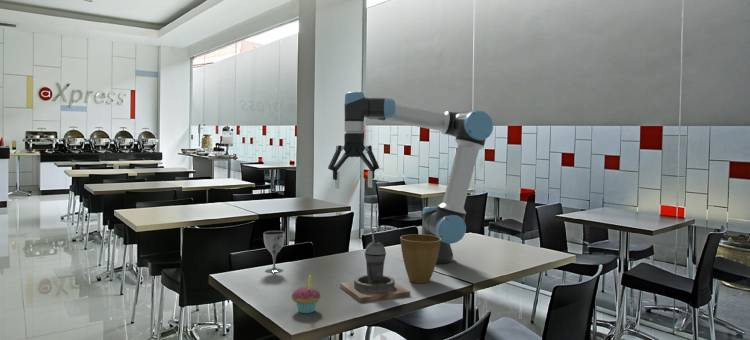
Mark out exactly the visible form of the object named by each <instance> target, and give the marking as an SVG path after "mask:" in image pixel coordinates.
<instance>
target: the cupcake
mask: <svg viewBox="0 0 750 340" xmlns="http://www.w3.org/2000/svg"><path fill="white" fill-rule="evenodd" d="M311 281H312V272H310V273H309V275H308V280H307V286H302V287H299V288H297V289H295V290H294V291H293V292H292V294H291V300H292V301H294V303H295V304H296V307H297V310H298V312H299V313H301V314H311V313H313V312H315V310H316V307H317V304H318V302H319V300H320V299H321V294H320V291H319V290H318V289H317V288H314V287H311Z"/></svg>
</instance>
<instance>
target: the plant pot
mask: <svg viewBox="0 0 750 340" xmlns="http://www.w3.org/2000/svg"><path fill="white" fill-rule="evenodd" d="M399 237H400V246H401V248H400V249H401V253H402V254H401V255H402V258H403V259H402V260H403V263H404V267H405V271H406V274H407V278H408V280H409V282H412V283H416V284H427V283H429V282H430V281H431V279H432V275H433V273H434V271H435V267H436V265H437V264H436V261H437V258H438V254H439V249H440V243H441V238H439V237H437V236H432V235H423V234H422V233H420V234H418V233H417V234H415V233H414V234H405V235H404V234H403V235H401V236H399Z"/></svg>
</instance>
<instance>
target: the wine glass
mask: <svg viewBox="0 0 750 340" xmlns="http://www.w3.org/2000/svg"><path fill="white" fill-rule="evenodd" d="M285 235H286V234H285V231H283V230H267V231H264V232H263V243H264V246H265V249H267V251H268V252H269V253H270V254H271V257H272V263H273V264H272V268H266V269H265V271H264V272H265V273H269V274H276V273H279V274H280V273H282V272H284V269H283V268H280V267H278V268H277V267H276V258H277V255H278V253H279V252H280V251H281V249H282V248H283V246H284V244H285Z"/></svg>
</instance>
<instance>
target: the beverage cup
mask: <svg viewBox="0 0 750 340" xmlns="http://www.w3.org/2000/svg"><path fill="white" fill-rule="evenodd" d="M374 234H375V233H374V228H371V237H372V241H371V242H369V243H368V244H367V245H366V247H365V251H364V257H365V261H366V262H365V264H366V275H367V279H368V284H372V285H379V284H382V279H383V275H384V269H385V261H386V260H385V259H386V255H387V252H386V247H385V246H384V245H383V243H381V242H379V241H375V235H374Z"/></svg>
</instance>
